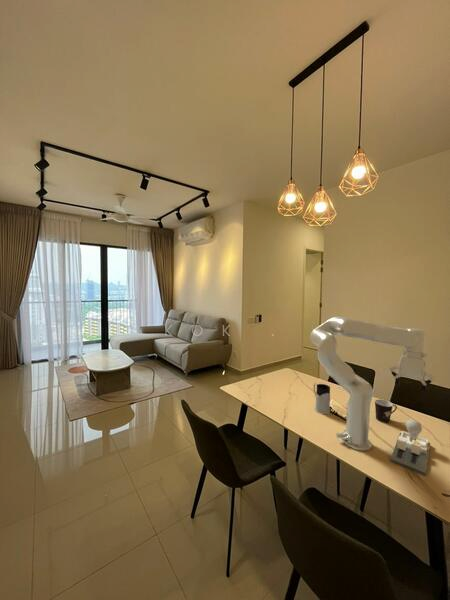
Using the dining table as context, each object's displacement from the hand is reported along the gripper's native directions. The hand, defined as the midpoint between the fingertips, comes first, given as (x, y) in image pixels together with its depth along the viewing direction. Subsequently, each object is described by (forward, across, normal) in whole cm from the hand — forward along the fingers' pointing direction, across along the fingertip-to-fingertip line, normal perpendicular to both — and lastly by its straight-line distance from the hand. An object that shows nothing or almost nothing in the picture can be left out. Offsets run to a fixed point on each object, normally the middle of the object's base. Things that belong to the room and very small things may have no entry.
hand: (409, 389), depth 121 cm
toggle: (+25, 0, +9) cm, 27 cm away
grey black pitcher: (+27, +44, -2) cm, 51 cm away
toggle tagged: (+25, -5, +8) cm, 27 cm away
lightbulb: (+25, -3, 0) cm, 26 cm away
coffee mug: (+27, +12, -16) cm, 33 cm away
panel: (+27, -4, +8) cm, 28 cm away
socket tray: (+25, -3, 0) cm, 25 cm away
